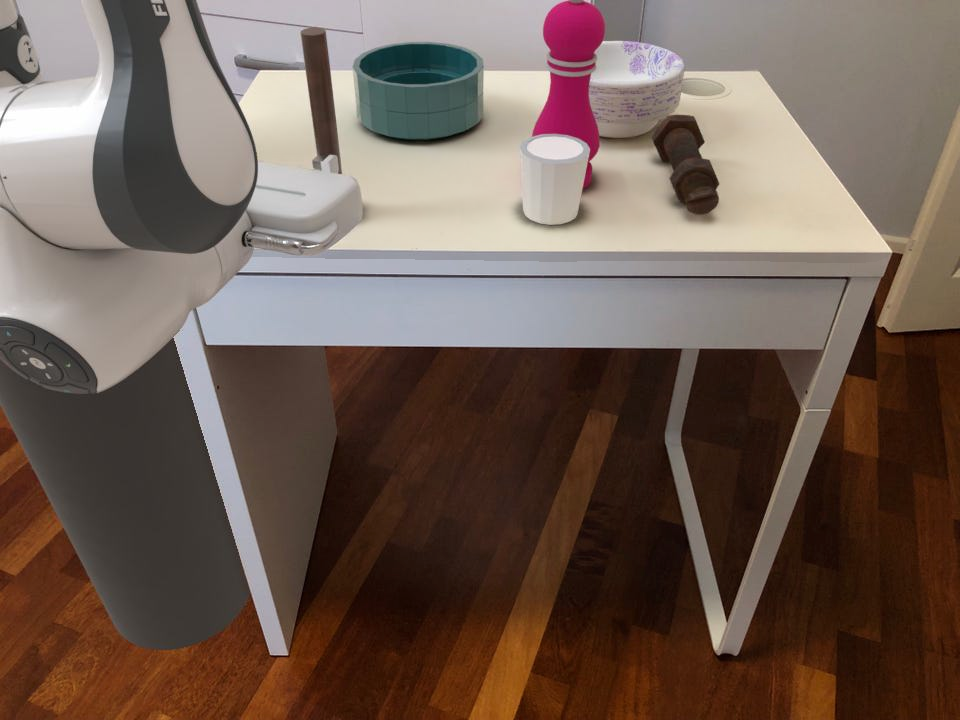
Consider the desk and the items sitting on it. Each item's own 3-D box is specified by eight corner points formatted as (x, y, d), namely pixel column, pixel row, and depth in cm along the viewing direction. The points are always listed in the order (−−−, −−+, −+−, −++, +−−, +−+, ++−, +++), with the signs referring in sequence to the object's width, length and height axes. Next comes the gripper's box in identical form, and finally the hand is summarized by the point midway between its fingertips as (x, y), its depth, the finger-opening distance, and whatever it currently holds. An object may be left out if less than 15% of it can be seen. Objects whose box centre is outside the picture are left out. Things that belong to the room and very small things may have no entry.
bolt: (688, 235, 81) (664, 165, 93) (737, 214, 80) (706, 146, 91) (668, 191, 78) (646, 124, 89) (718, 168, 76) (688, 103, 88)
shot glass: (507, 201, 83) (509, 137, 79) (567, 191, 85) (572, 128, 81) (532, 232, 78) (535, 167, 74) (595, 221, 80) (602, 156, 76)
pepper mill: (592, 165, 90) (611, -26, 77) (598, 195, 84) (620, -5, 72) (528, 164, 90) (537, -27, 77) (530, 194, 84) (540, -6, 72)
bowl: (352, 145, 94) (346, 87, 89) (364, 95, 106) (359, 41, 101) (484, 144, 94) (485, 86, 90) (481, 95, 106) (481, 41, 102)
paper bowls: (526, 122, 99) (529, 58, 94) (604, 91, 107) (610, 30, 102) (623, 161, 91) (632, 93, 86) (699, 124, 99) (711, 60, 94)
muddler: (311, 224, 79) (283, 39, 68) (317, 203, 83) (291, 23, 71) (355, 224, 79) (335, 39, 68) (359, 202, 83) (340, 23, 71)
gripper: (312, 216, 54) (390, 135, 64) (61, 173, 59) (171, 104, 69) (323, 292, 58) (394, 205, 68) (88, 247, 63) (188, 171, 73)
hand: (280, 154), depth 69 cm, fingers open, 8 cm apart
